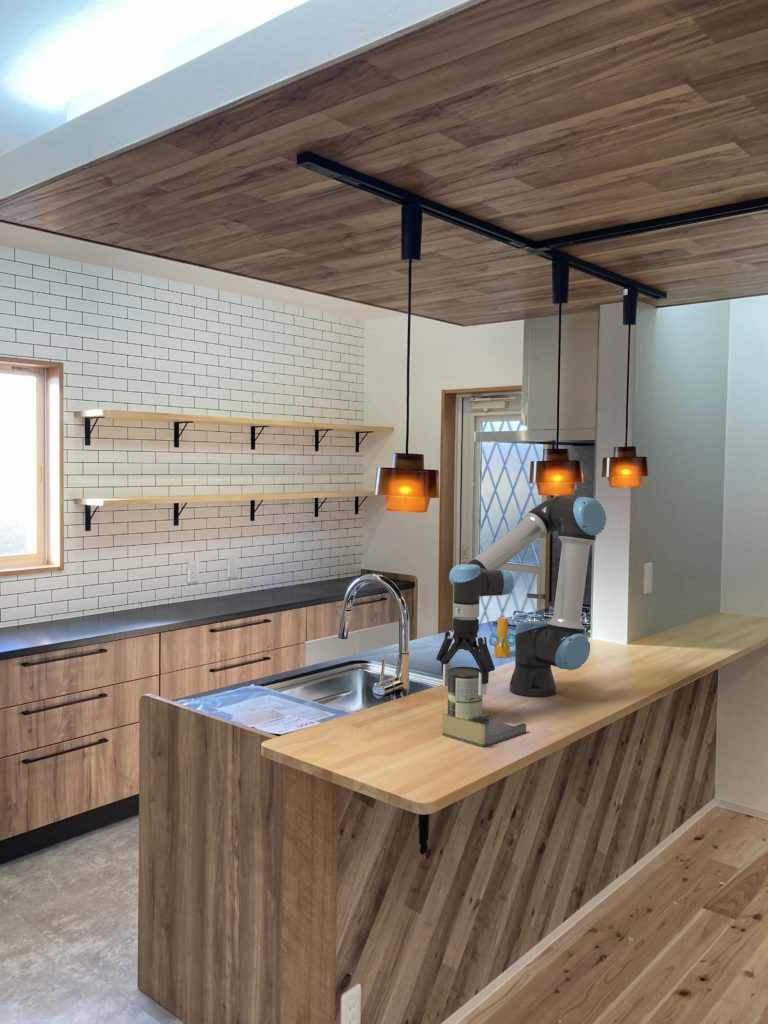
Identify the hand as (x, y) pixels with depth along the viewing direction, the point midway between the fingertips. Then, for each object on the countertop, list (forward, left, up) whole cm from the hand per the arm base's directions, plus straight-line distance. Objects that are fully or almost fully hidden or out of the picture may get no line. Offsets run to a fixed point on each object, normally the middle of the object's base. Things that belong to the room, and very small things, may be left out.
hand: (464, 690), depth 249 cm
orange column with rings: (-76, -45, -9) cm, 89 cm away
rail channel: (+7, +14, -8) cm, 17 cm away
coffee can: (0, 0, -9) cm, 9 cm away
